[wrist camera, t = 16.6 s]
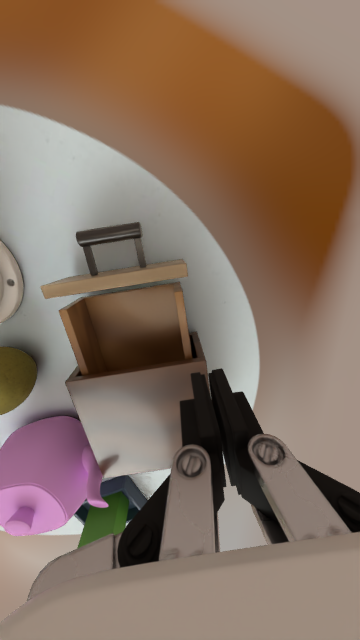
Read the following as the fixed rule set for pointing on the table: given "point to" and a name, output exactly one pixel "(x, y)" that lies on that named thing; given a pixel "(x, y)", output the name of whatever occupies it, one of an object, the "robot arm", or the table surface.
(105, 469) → the cabinet
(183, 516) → the robot arm
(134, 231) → the drawer
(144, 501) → the tray
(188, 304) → the table surface
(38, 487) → the teapot
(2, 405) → the apple
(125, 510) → the yellow-capped green block
